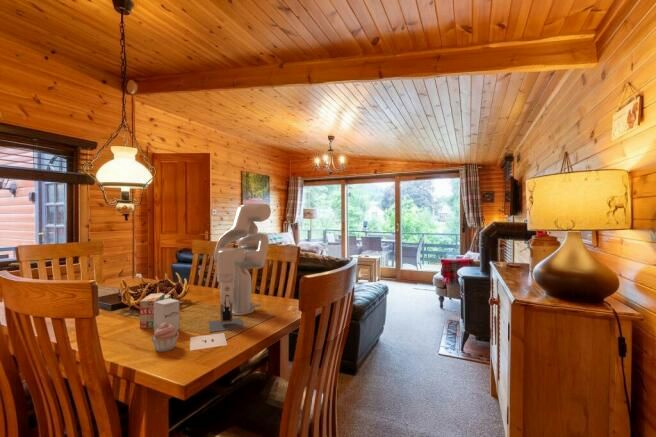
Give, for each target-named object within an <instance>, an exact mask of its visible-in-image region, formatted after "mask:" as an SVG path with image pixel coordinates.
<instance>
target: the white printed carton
mask: <svg viewBox="0 0 656 437" xmlns="http://www.w3.org/2000/svg"><path fill="white" fill-rule="evenodd" d="M165 299H172V295H171V294H165V292H164V293H163V292H162V293H160V292H159V293H150V294H148V295H147V296H145V297H144V298H142V299H141V300H139V328H140V329H154V302H157V301H161V300H165Z"/></svg>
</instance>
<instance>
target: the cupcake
mask: <svg viewBox="0 0 656 437" xmlns="http://www.w3.org/2000/svg"><path fill="white" fill-rule="evenodd" d="M179 333H180V332H178V330H176V329H175V328H174V326H173V325H171V324H168V323H167V322H165V323H162V324H161V325H160V326H159V328H158V329H157V330H156V331H153V335H152V336H151V338H150V340H151V342H152V344H153V345H154V350H155V351H156V352H159V353H163V352H168V351H169V352H170V351H172V350H173V349H175V347H176V343H177V339H178V337H179V336H180V335H179Z"/></svg>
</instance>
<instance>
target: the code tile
mask: <svg viewBox="0 0 656 437" xmlns="http://www.w3.org/2000/svg"><path fill="white" fill-rule="evenodd" d="M226 338H227V337H226V335H225V333H224V332H220V333H213V334H207V335H199V336H198V335H197V336H193V337H190V338H189V351H196V350H197V351H198V350H203V349H210V348H217V347H222V346H223V347H224V346H228V343H227V339H226Z"/></svg>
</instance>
